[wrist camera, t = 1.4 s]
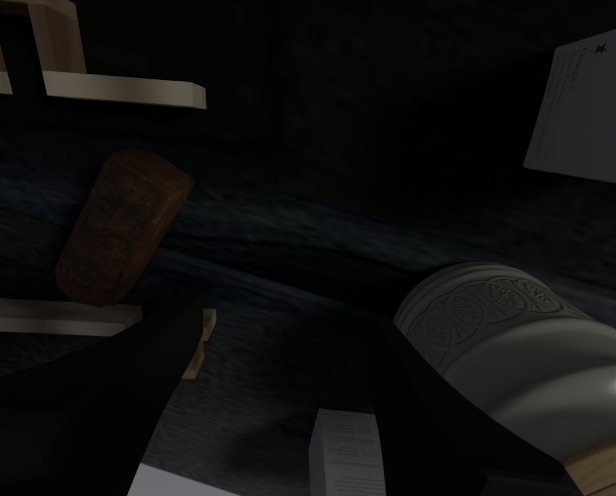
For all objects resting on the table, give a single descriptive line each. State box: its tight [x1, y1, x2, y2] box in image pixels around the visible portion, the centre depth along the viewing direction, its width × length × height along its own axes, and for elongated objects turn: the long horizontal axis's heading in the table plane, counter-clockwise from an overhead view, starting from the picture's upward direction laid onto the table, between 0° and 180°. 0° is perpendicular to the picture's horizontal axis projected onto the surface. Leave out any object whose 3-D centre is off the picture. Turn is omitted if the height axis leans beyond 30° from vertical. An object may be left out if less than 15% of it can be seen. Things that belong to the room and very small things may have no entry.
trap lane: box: [0, 0, 216, 379], centre depth 21 cm, size 21×25×2 cm
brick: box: [54, 148, 195, 308], centre depth 20 cm, size 11×4×5 cm, turn 144°
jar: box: [393, 261, 616, 496], centre depth 18 cm, size 13×13×18 cm
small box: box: [309, 408, 386, 496], centre depth 25 cm, size 8×6×10 cm
